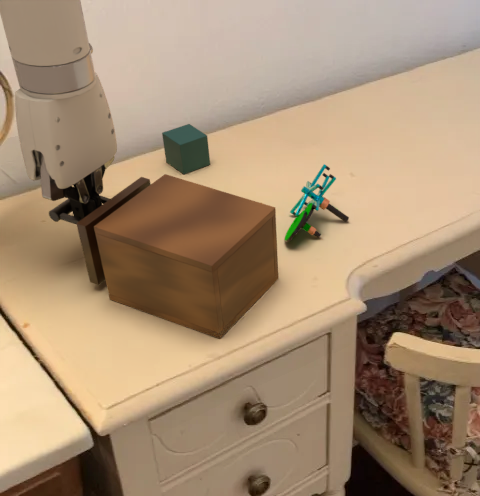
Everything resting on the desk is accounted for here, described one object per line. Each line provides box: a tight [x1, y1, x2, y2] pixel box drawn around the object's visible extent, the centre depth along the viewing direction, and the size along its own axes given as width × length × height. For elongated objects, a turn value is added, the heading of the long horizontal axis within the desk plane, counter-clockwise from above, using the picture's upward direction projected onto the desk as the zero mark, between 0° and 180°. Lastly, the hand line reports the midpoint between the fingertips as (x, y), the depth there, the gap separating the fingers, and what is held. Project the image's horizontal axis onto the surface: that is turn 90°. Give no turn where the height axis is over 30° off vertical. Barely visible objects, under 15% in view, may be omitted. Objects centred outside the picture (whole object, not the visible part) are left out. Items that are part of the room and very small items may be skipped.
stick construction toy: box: [284, 163, 350, 243], centre depth 106 cm, size 12×7×8 cm
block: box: [161, 123, 211, 175], centre depth 115 cm, size 4×4×4 cm
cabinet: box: [94, 173, 280, 340], centre depth 93 cm, size 15×13×10 cm
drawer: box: [48, 176, 152, 286], centre depth 95 cm, size 20×11×8 cm, turn 65°
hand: (91, 225), depth 97 cm, fingers closed
